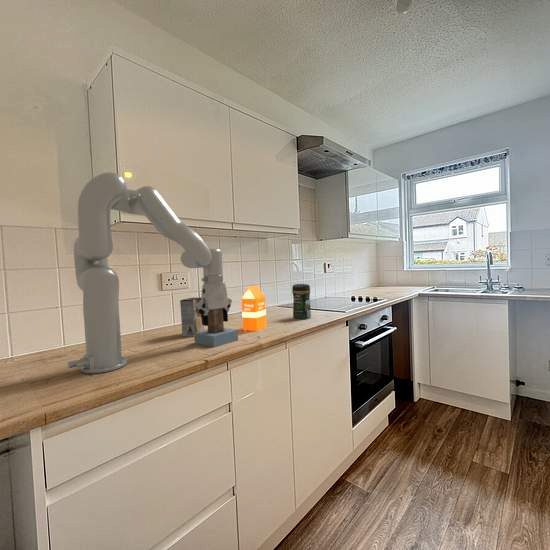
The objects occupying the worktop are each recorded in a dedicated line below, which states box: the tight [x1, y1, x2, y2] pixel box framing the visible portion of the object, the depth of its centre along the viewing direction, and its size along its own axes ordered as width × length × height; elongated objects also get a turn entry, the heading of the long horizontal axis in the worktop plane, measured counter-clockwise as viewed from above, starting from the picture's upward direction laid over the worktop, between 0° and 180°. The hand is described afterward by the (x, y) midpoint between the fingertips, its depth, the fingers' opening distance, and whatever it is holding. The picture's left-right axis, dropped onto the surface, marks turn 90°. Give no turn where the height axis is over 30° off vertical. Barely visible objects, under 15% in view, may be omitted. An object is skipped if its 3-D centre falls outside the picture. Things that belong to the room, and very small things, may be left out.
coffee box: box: [179, 297, 205, 337], centre depth 134 cm, size 9×6×16 cm
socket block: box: [194, 327, 239, 348], centre depth 119 cm, size 12×12×4 cm
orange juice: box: [241, 285, 267, 332], centre depth 140 cm, size 8×9×20 cm
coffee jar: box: [291, 283, 312, 320], centre depth 163 cm, size 10×8×19 cm
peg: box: [207, 308, 225, 334], centre depth 119 cm, size 4×4×14 cm
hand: (215, 323), depth 119 cm, fingers open, 9 cm apart
